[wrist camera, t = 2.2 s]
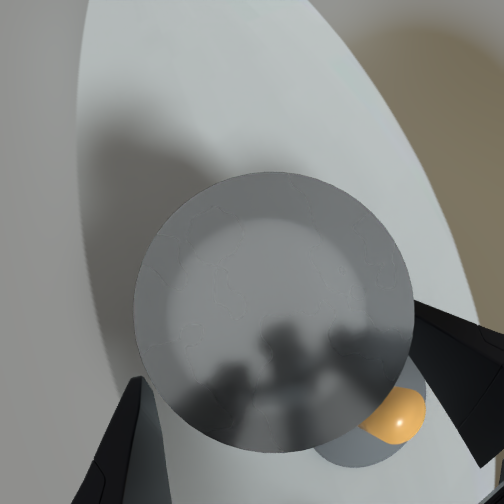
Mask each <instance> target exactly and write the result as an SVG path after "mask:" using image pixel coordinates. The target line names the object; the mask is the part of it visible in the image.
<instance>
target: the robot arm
mask: <svg viewBox="0 0 504 504" xmlns="http://www.w3.org/2000/svg"><path fill="white" fill-rule="evenodd" d="M408 355H409V357H410V358H411V360H412V361H413V363H414V364H415V365H416V367H417V368H418V370H419V371H420V373H421V374H422V376H423V377H424V379H425V380H426V382H427V383H428V385H429V386H430V388H431V389H432V391H433V392H434V394H435V395H436V397H437V399H438V400H439V402H440V403H441V405H442V406H443V408H444V409H445V411H446V413H447V414H448V416H449V417H450V419H451V421H452V422H453V424H454V425H455V427H456V429H458V432H459V434H460V435H461V437H462V439H463V440H464V442H465V444H466V445H467V447H468V449H469V451H470V452H471V454H472V456H473V457H474V459H475V461H476V463H477V464H478V466H479V467H480V468H482V467H483V466H484V465H486V464H487V463H488V462H489V461H490V460H492V459H493V458H494V457H495V456H496V455H497V454H499V453H500V452H501V451H502V450H503V449H504V334H501V333H498V332H495V331H493V330H490V329H487V328H485V327H482V326H480V325H478V326H477V324H475V323H472V322H469V321H467V320H464V319H462V318H459V317H457V316H454V315H452V314H449V313H447V312H444V311H442V310H439V309H436V308H434V307H431V306H429V305H426V304H424V303H421V302H419V301H416V300H414V328H413V336H412V342H411V346H410V350H409V354H408ZM71 504H172V501H171V495H170V489H169V482H168V476H167V469H166V461H165V453H164V445H163V437H162V431H161V426H160V422H159V418H158V413H157V408H156V404H155V399H154V394H153V391H152V389H151V388H150V386H149V385H148V383H147V382H146V380H145V378H144V377H143V376H138V377H133V378H131V379H130V381H129V383H128V385H127V387H126V389H125V391H124V393H123V395H122V397H121V399H120V402H119V404H118V406H117V408H116V410H115V412H114V414H113V417H112V419H111V421H110V423H109V425H108V427H107V430H106V432H105V434H104V436H103V438H102V441H101V443H100V445H99V447H98V450H97V452H96V454H95V456H94V460H93V461H92V463H91V465H90V468H89V470H88V472H87V474H86V476H85V479H84V481H83V483H82V484H81V486H80V488H79V490H78V492H77V494H76V496H75V497H74V499H73V501H72V503H71ZM478 504H504V459H503V461H502V468H501V475H500V481H499V486H498V487H497V488H495V489H494V490H493V491H492V492H491V493H490V494H489V495H488V496H486V497H485V498H484V499H483V500H482V501H481V502H479V503H478Z"/></svg>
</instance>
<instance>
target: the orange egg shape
mask: <svg viewBox="0 0 504 504" xmlns="http://www.w3.org/2000/svg"><path fill="white" fill-rule="evenodd" d="M425 413H426V407H425V402H424V399H423V397H422V396H421V395H420V394H419V393H418V392H417V391H415V390H412V389H407V388H402V387H397V386H394V387H393V389H392V390H391V392H390V393H389V394H388V396H387V397H386V398H385V400H384V401H383V402H382V404H381V405H380V406H379V407H378V408H377V409H376V410H375V411H374V412H373V413H372V414H371V415H370V416H369V417H368V418H367V419H365V420H364V421H363V422H362V423H361V424H359V425H358V426H357V427H359V428H361V429H363V430H364V431H366V432H368V433H370V434H371V435H373V436H375V437H377V438H379V439H381V440H382V441H384V442H386V443H389V444H401V443H404V442H406V441H408V440H410V439H411V438H412V437H413V436H414V435H415V434H416V433H417V432H418V431H419V429H420V428H421V426H422V424H423V421H424V418H425Z"/></svg>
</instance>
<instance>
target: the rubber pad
mask: <svg viewBox="0 0 504 504" xmlns="http://www.w3.org/2000/svg"><path fill="white" fill-rule="evenodd" d="M394 386H397V387H402V388H407V389H412V390H415V391H417V392H418V393H419V394H420V395H421V396H422V397H423V399H424V402H425V400H426V385H425V379H424V377H423V376H422V374H421V373H420V371H419V370H418V368H417V367H416V365H415V364H414V363H413V361H412V360H411V358H410V357H409V355H408V357H407V360H406V362H405V365H404V367H403V370H402V372H401V374H400V376H399V378H398V380H397V382H396V383H395V385H394ZM406 442H407V441H406ZM406 442H404V443H401V444H389V443H386V442H384V441H382V440H381V439H379V438H377V437H375V436H373V435H371V434H370V433H368V432H366V431H364V430H363V429H361V428H359V427H355V428H354V429H352V430H351V431H349V432H347V433H346V434H344V435H342V436H341V437H339V438H337V439H335V440H332V441H330V442H328V443H325V444H323V445H320V446H317V447H313V448H314V449H315V450H316V451H317V452H318V453H319V454H320V455H321V456H322V457H323V458H325V459H326V460H328V461H330V462H332V463H334V464H336V465H340V466H343V467H351V468H354V467H365V466H370V465H373V464H376V463H378V462H381V461H383V460H385V459H387V458H388V457H390V456H391V455H393V454H394V453H396V452H397V451H398V450H399V449H400V448H401V447H403V445H404V444H405V443H406Z"/></svg>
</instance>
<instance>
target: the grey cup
mask: <svg viewBox="0 0 504 504" xmlns="http://www.w3.org/2000/svg"><path fill="white" fill-rule="evenodd" d="M133 322H134V330H135V337H136V342H137V346H138V349H139V353H140V356H141V359H142V362H143V364H144V367H145V369H146V371H147V373H148V375H149V378H150V380H151V381H152V383H153V384H154V386H155V387H156V389H157V391H158V392H159V394H160V395H161V397H162V398H163V399H164V400H165V401H166V402H167V404H168V405H169V406H170V407H171V408H172V409H173V410H174V412H176V413H177V414H178V415H179V416H180V417H181V418H182V419H184V420H185V421H186V422H187V423H188V424H189V425H191V426H192V427H194V428H195V429H197V430H198V431H200V432H202V433H203V434H205V435H206V436H208V437H210V438H213V439H215V440H217V441H219V442H221V443H224V444H226V445H229V446H233V447H236V448H239V449H243V450H248V451H255V452H262V453H287V452H294V451H302V450H306V449H310V448H313V447H317V446H320V445H323V444H325V443H328V442H330V441H332V440H335V439H337V438H339V437H341V436H342V435H344V434H346V433H347V432H349V431H351V430H352V429H354V428H355V427H357V426H358V425H359V424H361V423H362V422H363V421H364V420H365V419H367V418H368V417H369V416H370V415H371V414H372V413H373V412H374V411H375V410H376V409H377V408H378V407H379V406H380V405H381V404H382V402H383V401H384V400H385V398H386V397H387V396H388V394H389V393H390V392H391V390H392V389H393V387H394V385H395V383H396V382H397V380H398V378H399V376H400V374H401V372H402V370H403V367H404V365H405V362H406V360H407V357H408V354H409V350H410V346H411V342H412V336H413V328H414V299H413V291H412V285H411V281H410V277H409V273H408V270H407V267H406V265H405V262H404V260H403V257H402V255H401V253H400V251H399V249H398V247H397V245H396V243H395V241H394V240H393V238H392V237H391V235H390V234H389V232H388V231H387V230H386V228H385V227H384V225H383V224H382V223H381V222H380V221H379V220H378V219H377V218H376V216H375V215H374V214H373V213H372V212H371V211H370V210H368V209H367V208H366V207H365V206H364V205H363V204H362V203H361V202H359V201H358V200H356V199H355V198H353V197H352V196H351V195H349V194H348V193H346V192H344V191H342V190H341V189H339V188H337V187H335V186H333V185H331V184H328V183H326V182H323V181H321V180H318V179H315V178H311V177H308V176H304V175H300V174H292V173H285V172H261V173H253V174H246V175H242V176H238V177H234V178H230V179H227V180H225V181H222V182H220V183H217V184H215V185H213V186H211V187H209V188H207V189H205V190H203V191H201V192H200V193H198V194H197V195H195V196H194V197H192V198H191V199H190V200H188V201H187V202H185V203H184V204H183V205H182V206H181V207H180V208H179V209H178V210H177V211H175V212H174V213H173V214H172V215H171V216H170V217H169V219H168V220H167V221H166V222H165V224H164V225H163V226H162V227H161V228H160V230H159V231H158V233H157V234H156V236H155V237H154V239H153V241H152V242H151V244H150V246H149V248H148V250H147V252H146V254H145V257H144V259H143V261H142V264H141V267H140V270H139V274H138V277H137V281H136V286H135V293H134V301H133Z"/></svg>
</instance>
